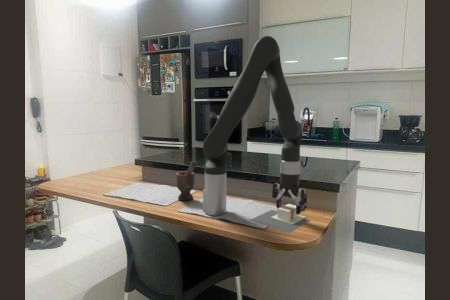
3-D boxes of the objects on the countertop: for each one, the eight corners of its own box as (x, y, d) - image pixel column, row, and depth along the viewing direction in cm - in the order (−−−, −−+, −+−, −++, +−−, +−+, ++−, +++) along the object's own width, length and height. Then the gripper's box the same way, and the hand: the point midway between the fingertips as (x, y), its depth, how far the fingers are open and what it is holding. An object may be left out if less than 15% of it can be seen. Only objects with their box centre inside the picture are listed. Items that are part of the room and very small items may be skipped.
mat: (249, 221, 118) (249, 219, 118) (273, 210, 131) (274, 208, 131) (289, 234, 106) (289, 232, 106) (312, 220, 119) (312, 218, 119)
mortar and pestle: (203, 198, 146) (203, 158, 143) (194, 204, 138) (194, 161, 135) (182, 195, 150) (182, 156, 148) (173, 200, 143) (172, 159, 140)
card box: (287, 213, 125) (288, 203, 124) (298, 216, 121) (299, 206, 121) (277, 218, 119) (277, 208, 118) (288, 221, 116) (289, 211, 115)
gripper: (311, 172, 115) (309, 213, 118) (279, 167, 125) (278, 205, 127) (301, 176, 110) (299, 218, 112) (269, 170, 119) (268, 209, 122)
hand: (288, 211), depth 120 cm, fingers open, 8 cm apart
